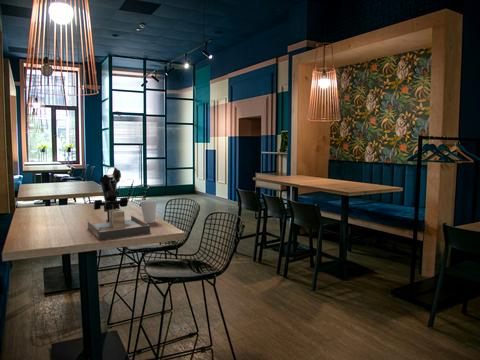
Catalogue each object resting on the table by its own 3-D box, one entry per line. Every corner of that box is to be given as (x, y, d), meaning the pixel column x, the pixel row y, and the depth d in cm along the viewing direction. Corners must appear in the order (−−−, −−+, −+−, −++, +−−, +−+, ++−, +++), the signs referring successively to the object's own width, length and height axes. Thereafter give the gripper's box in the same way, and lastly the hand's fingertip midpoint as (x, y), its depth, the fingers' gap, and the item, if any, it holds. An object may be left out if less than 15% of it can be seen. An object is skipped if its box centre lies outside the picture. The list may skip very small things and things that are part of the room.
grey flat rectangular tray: (88, 228, 226) (87, 220, 226) (133, 222, 240) (132, 215, 239) (100, 240, 198) (99, 231, 198) (150, 232, 211) (149, 224, 211)
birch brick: (109, 225, 223) (108, 209, 222) (120, 224, 226) (119, 208, 225) (114, 228, 214) (113, 212, 213) (125, 227, 217) (124, 211, 217)
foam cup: (140, 221, 244) (139, 200, 242) (155, 219, 247) (154, 199, 246) (142, 224, 235) (141, 202, 234) (158, 222, 238) (157, 201, 237)
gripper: (93, 186, 222) (98, 208, 214) (126, 183, 232) (132, 204, 223) (91, 198, 230) (96, 220, 221) (123, 195, 239) (129, 216, 231)
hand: (114, 214), depth 224 cm, fingers closed
